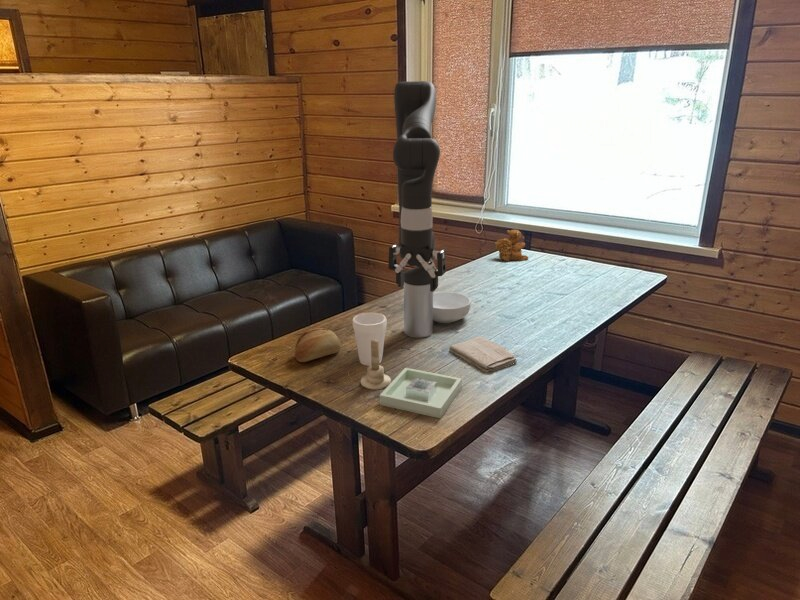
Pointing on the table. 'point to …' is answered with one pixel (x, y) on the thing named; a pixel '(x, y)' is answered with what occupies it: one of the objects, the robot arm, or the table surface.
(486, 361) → the washcloth
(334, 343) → the bread roll
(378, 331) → the foam cup
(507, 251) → the stuffed squirrel
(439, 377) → the tray
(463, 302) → the cereal bowl
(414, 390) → the ring
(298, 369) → the table surface
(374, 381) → the beige peg stand
